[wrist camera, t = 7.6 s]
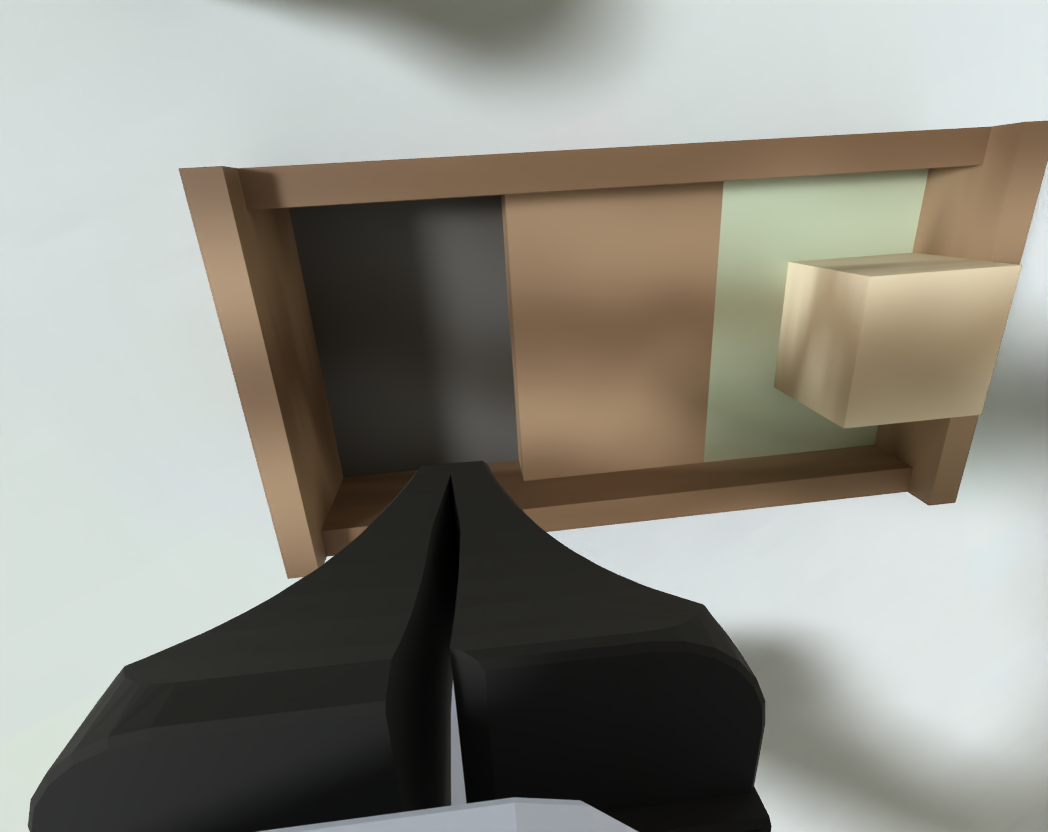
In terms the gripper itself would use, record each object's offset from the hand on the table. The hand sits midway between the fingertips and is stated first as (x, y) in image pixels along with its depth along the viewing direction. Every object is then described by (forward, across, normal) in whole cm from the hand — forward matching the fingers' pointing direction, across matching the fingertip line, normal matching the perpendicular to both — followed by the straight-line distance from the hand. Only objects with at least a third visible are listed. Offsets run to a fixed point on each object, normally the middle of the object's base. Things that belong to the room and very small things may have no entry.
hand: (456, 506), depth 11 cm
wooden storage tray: (+10, -6, -1) cm, 12 cm away
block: (+8, -14, -1) cm, 16 cm away
